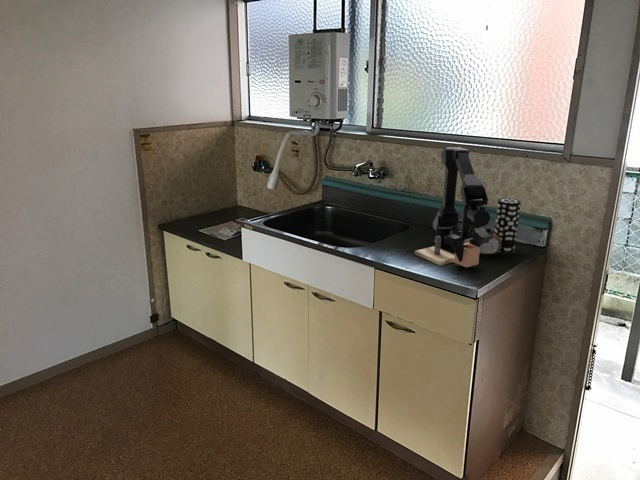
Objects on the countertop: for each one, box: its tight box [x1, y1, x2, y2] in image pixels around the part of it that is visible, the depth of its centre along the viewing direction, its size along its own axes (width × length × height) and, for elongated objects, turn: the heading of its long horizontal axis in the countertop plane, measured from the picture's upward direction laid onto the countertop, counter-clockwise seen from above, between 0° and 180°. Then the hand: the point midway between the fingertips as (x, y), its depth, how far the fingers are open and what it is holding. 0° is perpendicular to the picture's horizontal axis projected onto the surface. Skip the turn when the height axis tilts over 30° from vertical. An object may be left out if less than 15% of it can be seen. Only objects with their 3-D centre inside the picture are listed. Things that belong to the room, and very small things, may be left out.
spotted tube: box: [494, 197, 522, 253], centre depth 204 cm, size 8×8×20 cm
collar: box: [453, 243, 480, 268], centre depth 188 cm, size 6×6×6 cm
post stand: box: [414, 236, 455, 266], centre depth 197 cm, size 10×14×9 cm
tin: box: [464, 234, 501, 255], centre depth 202 cm, size 15×3×8 cm, turn 70°
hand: (466, 259), depth 188 cm, fingers closed on collar, 6 cm apart
